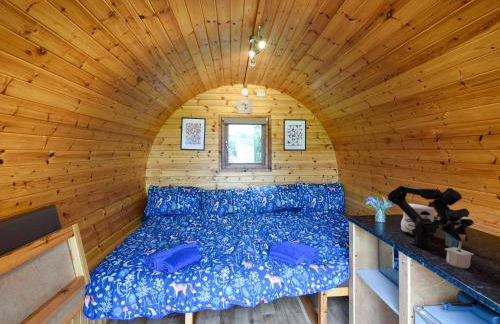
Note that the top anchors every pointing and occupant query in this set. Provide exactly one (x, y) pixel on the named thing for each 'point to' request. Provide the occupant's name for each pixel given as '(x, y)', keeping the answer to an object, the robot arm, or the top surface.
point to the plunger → (461, 241)
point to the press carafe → (458, 257)
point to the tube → (451, 240)
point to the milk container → (422, 210)
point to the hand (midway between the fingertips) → (463, 240)
